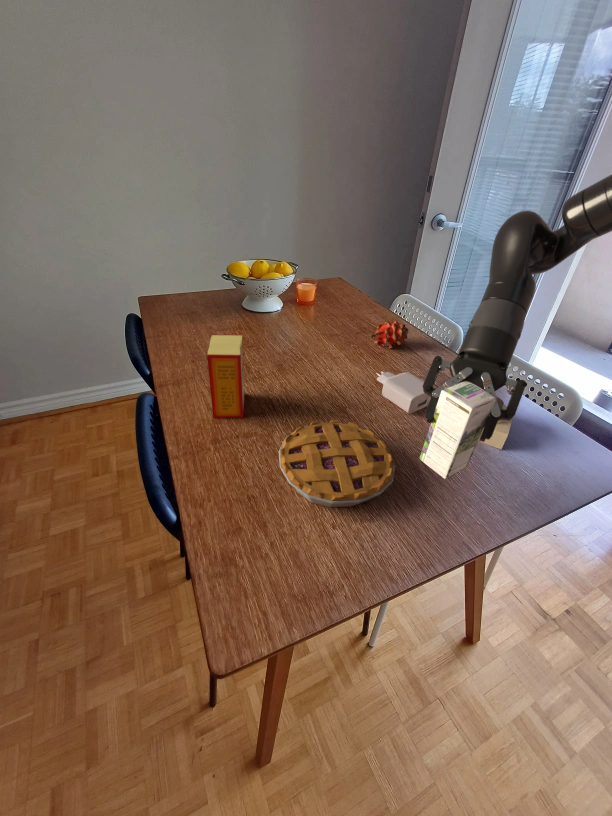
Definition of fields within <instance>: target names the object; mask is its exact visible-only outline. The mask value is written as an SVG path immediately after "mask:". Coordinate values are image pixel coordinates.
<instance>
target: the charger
mask: <svg viewBox="0 0 612 816" xmlns="http://www.w3.org/2000/svg"><path fill="white" fill-rule="evenodd" d="M380 373H381V374H380ZM380 373H378V372H376V373H375V375H377V376H378V377H377V378H376V381H377V382H379V383H380V384H382V390H381V396H383V398H385V399H387V400H388V401H390V403H392V404H394V405H396V406H397V407H398V408H399V409H401V410H403V411H404V412H406V413H407V414H408V415H409V414H413V413H415V412H417V411H420V410H422V409H424V408H427V407H428V404H429V402H430V399H431V397H430V396H429V395H427V394H425V393H424V392H423V384H424V381H425V380H423V379H421V378H419V377H418V376H416V375H414V373H413V374H412V373H411V372H401V373H398V374H395V373H393V372H391V371H386V372H385V371H383V370H381V371H380ZM433 388H435V389H437V388H436V387H434V386H433Z"/></svg>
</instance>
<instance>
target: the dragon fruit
mask: <svg viewBox="0 0 612 816" xmlns="http://www.w3.org/2000/svg"><path fill="white" fill-rule="evenodd" d="M408 334H409V328H408V327H406V324H405V323H399V322H398V320H396V319H394V320H393V322H392V321H391V320H386V321H385V322H384V323H380V324H378V326H377V328H376V329H375V331H374V332H373V334H372V335H371V339H375V340H374V342H373V343H374V344H375V345H378V346H382V347H384V346H385V347H387V346H388V349H389V350H391V349H393V348H395V347H398V346H402V345H403V344H405V343H406V342H407V341H405V340H406V339H408Z"/></svg>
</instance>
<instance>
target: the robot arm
mask: <svg viewBox="0 0 612 816" xmlns="http://www.w3.org/2000/svg"><path fill="white" fill-rule="evenodd" d="M561 219H562V224H563V225H562V226H560V227H559V228H557V229H556V230H553V229H552V228H551V227H550V226H549V224H548V223H547V222H546V221H545V219H544V218H543V217H542V216H540V214H538V213H537V212H535V211H532V210H521V211H518V212H515V213H514V214H512V215H511V216H510V217H508V218H507V219H506V220H505V221H504V222H503V223H502V225H501V226H500V228H499V229H498V231H497V232H496V235H495V238H494V240H493V244H492V250H491V258H490V265H489V277H488V283H487V286H486V288H485V290H484V293H483V296H482V298H481V301H480V303H479V305H478V307H477V309H476V311H475V313H474V315H472V316H473V317H472V319H471V320H470V322H469V324H468V329H467V331H466V333H465V336H464V338H463V341H462V343H461V346H460V349H459V351H458V354H457V356H456V358H454V360H452V361H449V360H446V359H443V358H442V357H441V355H436V356H434V357H433V360H432V362H431V364H430V367H429V370H428V372H427V374H426V377H425V379H424V380H423V381H424V384H423V392H424V393H425V394H427V395H429V396H430V397H431V399H430V402H429V404H428V406H426V410H425V412H424V417H425V419H426V423H428V424H431V422H432V419H433V416H434V412H435V409H436V406H437V403H438V400H439V397H440V394H441V391H442V390H444V389H447V388H449V387H452V386H454V385H457V384H459V383H461V382H464V381H467V382H470V383H472V384H474V385H476V386H478V387H480V388H481V389H483V390H485V391H486V392H487V393H489V394H490V395H492V396H493V397H494V398H495V399H496V401H495V403H494V405H493V408H492V409H491V412H490V416H489V417H488V419H487V422H486V424H485V427H484V429H483V432H482V434H481V437H480V440H479V441H482V442H484V441H485V439H488V440H489V439H490V438H491V437H492V435H493V432H494V430H495V427H496V425H497V422H498V421H499V420H507V421H509V420H511V419H512V418H513V419H514V417H515V415H516V413H517V411H518V407H519V406H520V402H521V399H522V397H523V394H524V391H525V388H526V386H527V382H526V381H525V379H519V380H515V379H511V378H508V377H507V371H508V368H509V366H510V363H511V360H512V358H513V355H514V353H515V350H516V347H517V345H518V342H519V340H520V339H521V336H522V332H523V329H524V327H525V326H524V325H525V322H526V317H527V314H528V312H529V309H530V308H531V307H530V306H531V304H532V302H533V299H534V296H535V293H536V290H537V284H536V280H535V278H534V275H540V274H544V273H546V272H548V271H550V270H552V269H554V268H555V267H557V266H558V265H560V264H561V263H562V262H563V261H565V260H566V259H567V258H569V257H570V256H572V255H573V254H575V253H576V252H578V251H579V250H580V249H582V248H583V247H584V246H586V245H587V244H589V243H590V242H591V241H593V240H596V239H598V238H600V237H602V236H604V235H606V234H609V233H611V232H612V173H611V174H609V175H608V176H606V177H604V178H602V179H600V180H598V181H596V182H594V183H593V184H590V185H589V186H587V187H585V188H584V189H582V190H580V191H578V192H576V193H575V194H573V195H572V196H570V197H568V198H567V199H566V200H565V201H564V203H563V205H562V208H561ZM446 370H449V373H450V376H451V378H450V379H448V380H446V381H445V382H444V383H443V384H441V385H440V386H438V387H437V388H436V387H434V385H435V383H436V380H437V377H438V376H439V374H442V373H444V372H445V371H446ZM504 386H505V387H506V390H507V391H506V392H507V394H508V395H509V396H510V398H509V401H508V403H507V406H506V407H507V409H506V410H500V409H499V406H498V402H497V397H498V396H497V394H496V391H498V390H499V389H501V388H503V387H504ZM433 387H434V388H433ZM435 388H436V389H435ZM513 419H512V420H513ZM479 441H478V442H479Z"/></svg>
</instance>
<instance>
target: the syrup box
mask: <svg viewBox="0 0 612 816" xmlns="http://www.w3.org/2000/svg"><path fill="white" fill-rule="evenodd" d="M495 401H496V399H495V398H494V397H493V396H492V395H490V394H489V393H487V392H486V391H485V390H483V389H481V388H480V387H478V386H476V385H474V384H472V383H470V382H467V381H464V382H461V383H459V384H457V385H454V386H452V387H449V388H447V389H444V390H442V391H441V394H440V397H439V400H438V403H437V406H436V409H435V412H434V416H433V419H432V422H431V423H430V425H429V428H428V430H427V434H426V437H425V440H424V443H423V446H422V449H421V453H420V456H419V460H420V461H421V462H422V463H424V464H425V465H427V467H428V468H429V469H431V470H432V471H434V472H435V473H436V474H438V475H439V477H441V478H443V479H444V480H447V479H449V478H450V477H452V476H454V475H456V474H457V473H459V472H461V471H462V470H464V469H466V468H467V467H468V466H469V464H470V461H471V459H472V457H473V454H474V452H475V449H476V447H477V445H478V443H479V441H478V440H479V438H480V436H481V434H482V431H483V429H484V427H485V424H486V422H487V419H488V417H489V415H490V412H491V409H492V408H493V405H494V403H495Z"/></svg>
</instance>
